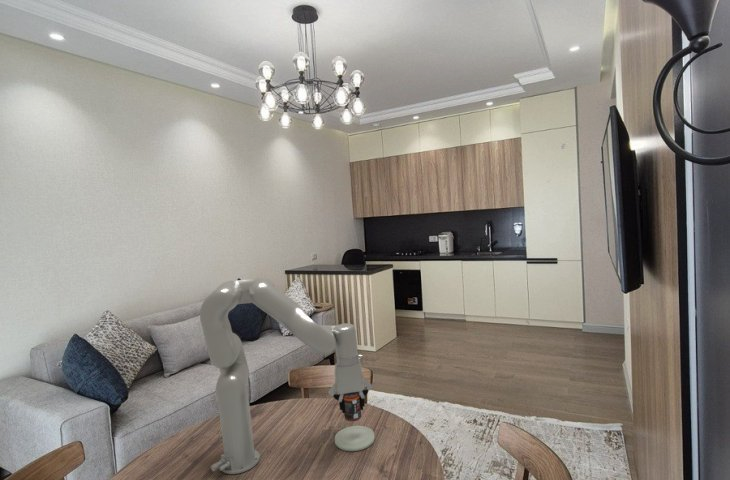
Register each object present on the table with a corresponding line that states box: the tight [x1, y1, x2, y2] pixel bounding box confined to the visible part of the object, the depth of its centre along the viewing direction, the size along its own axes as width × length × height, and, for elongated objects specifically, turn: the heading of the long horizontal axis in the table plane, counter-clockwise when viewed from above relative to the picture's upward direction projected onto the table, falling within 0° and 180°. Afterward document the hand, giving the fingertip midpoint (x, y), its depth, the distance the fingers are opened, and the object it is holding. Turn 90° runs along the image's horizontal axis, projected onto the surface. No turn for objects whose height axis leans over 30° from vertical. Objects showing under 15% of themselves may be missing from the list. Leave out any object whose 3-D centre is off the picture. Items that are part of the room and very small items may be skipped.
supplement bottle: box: [343, 392, 362, 422], centre depth 140 cm, size 6×6×11 cm
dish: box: [334, 425, 375, 452], centre depth 141 cm, size 14×14×2 cm
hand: (352, 409), depth 140 cm, fingers closed on supplement bottle, 6 cm apart
